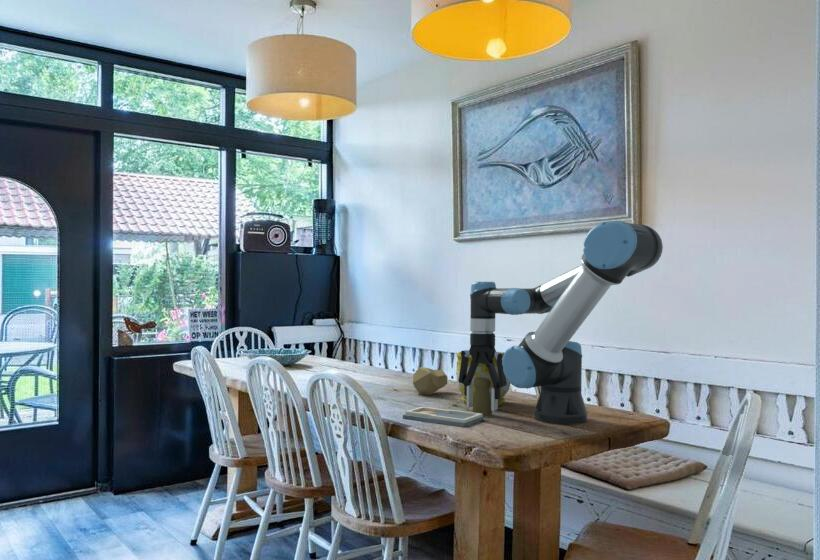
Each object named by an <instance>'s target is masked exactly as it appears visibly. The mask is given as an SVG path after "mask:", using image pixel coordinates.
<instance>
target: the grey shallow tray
mask: <svg viewBox="0 0 820 560" xmlns="http://www.w3.org/2000/svg"><path fill="white" fill-rule="evenodd" d="M484 417H485V416H483V414H481V413H473V412H472V411H464V410H456V409H455V410H454V409H443V408H435V407H429V406H428V407H427V406H420V407H416V408H413V409H408V410H405V413H404V414H402V419H407V420H413V421H420V422H427V423H433V424H441V425H447V426H448V425H449V426H454V427H461V428H465V427H467V426H470V425H473V424H475V423H479V422H481V421H484Z"/></svg>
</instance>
